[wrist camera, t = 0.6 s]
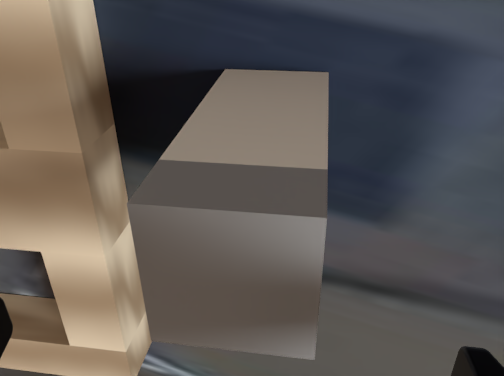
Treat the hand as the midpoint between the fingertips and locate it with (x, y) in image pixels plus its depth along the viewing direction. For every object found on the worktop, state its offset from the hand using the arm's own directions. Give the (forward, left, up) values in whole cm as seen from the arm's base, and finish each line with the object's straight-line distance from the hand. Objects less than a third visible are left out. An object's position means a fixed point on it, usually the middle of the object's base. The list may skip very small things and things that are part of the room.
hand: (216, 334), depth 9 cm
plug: (0, 0, -11) cm, 11 cm away
